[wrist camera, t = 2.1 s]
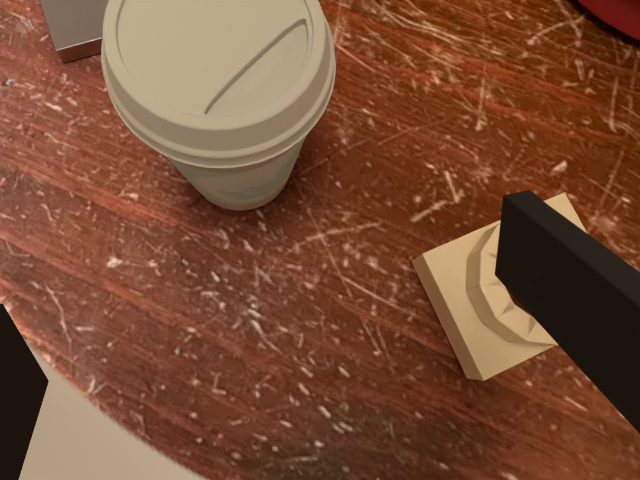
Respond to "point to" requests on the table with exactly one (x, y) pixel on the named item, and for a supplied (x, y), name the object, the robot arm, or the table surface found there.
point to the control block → (482, 301)
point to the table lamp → (617, 14)
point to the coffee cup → (221, 87)
